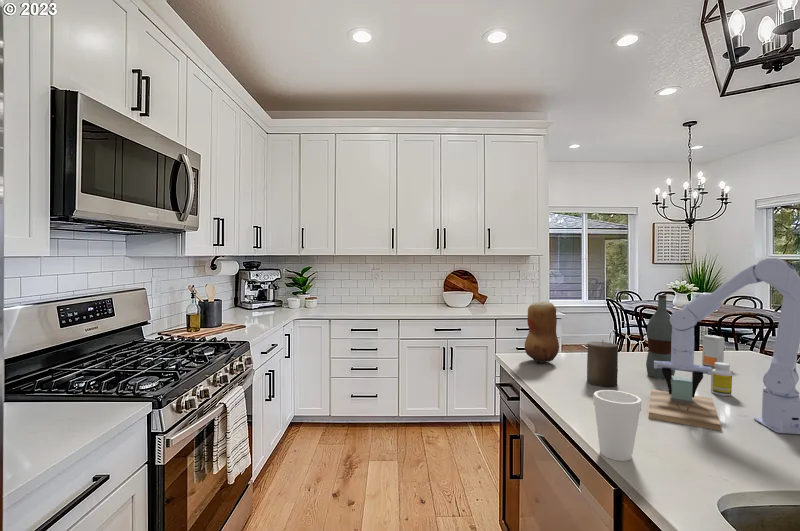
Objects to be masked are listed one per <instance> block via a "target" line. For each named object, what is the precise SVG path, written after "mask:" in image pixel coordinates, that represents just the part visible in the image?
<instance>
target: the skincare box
mask: <svg viewBox="0 0 800 531" xmlns="http://www.w3.org/2000/svg"><path fill="white" fill-rule="evenodd" d="M724 357H725V337H723V336H718V335H712V334H705V335H703V336H702V358H701V359H702V360H701V361H702V362H701V364H702V365H703V366H707V367H712V368H715V367H714V363H715V362H722V363H725V362H724V359H725V358H724Z"/></svg>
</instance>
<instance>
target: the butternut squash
mask: <svg viewBox="0 0 800 531" xmlns="http://www.w3.org/2000/svg"><path fill="white" fill-rule="evenodd" d="M557 321H558V320H557V308H556V306H555V305H554V304H553V303H552V302H550V301H540V302H539V301H538V302H535V303H531V304H530V305H529V306H528V308H527V326H528V329H529V330H528V334H527V336H526V337H525V341H524V351H525V353H526V355H527V356H528V357H530V358H531V359H532V360H533V361H535V362H537V363H540V364H541V363H543V364H544V363H549V362H552V361H553V360H554V359H556V357H557V355H558V353H559V350H560V344H559V338H558V336H557V325H558V324H557Z"/></svg>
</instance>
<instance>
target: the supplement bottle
mask: <svg viewBox="0 0 800 531" xmlns="http://www.w3.org/2000/svg"><path fill="white" fill-rule="evenodd" d="M730 368H731V365H730V364H729V363H727V362H723V363H722V362H715V363H714V367H713V368H712V375H710V376H711V377H710V392H711V393H712V394H715V395H717V396H724V397H727V396H732V392H733V391H732V388H733V386H732V385H733V373H732V371H730Z"/></svg>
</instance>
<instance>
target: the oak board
mask: <svg viewBox="0 0 800 531" xmlns="http://www.w3.org/2000/svg"><path fill="white" fill-rule="evenodd" d="M649 394H650V395H649V406H648V419H652V420H653V419H654V420H657V421H658V420H659V421H665V422H669V423H676V424H682V425H687V426H692V427H699V428H703V429H704V428H705V429H709V430H716V431H720V432H721V430H722V424H721V421H720V419H719V418H720V417H719V415H718V412H717V409H716V406H715V404H714V400H713V398H712V397H704V396H698V395H695V396H694V398H693V397H692V404H685V403H679V402H673V401H672V400H671V394H669V391H665V390H658V389H653V388H652V389H650V392H649Z"/></svg>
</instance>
